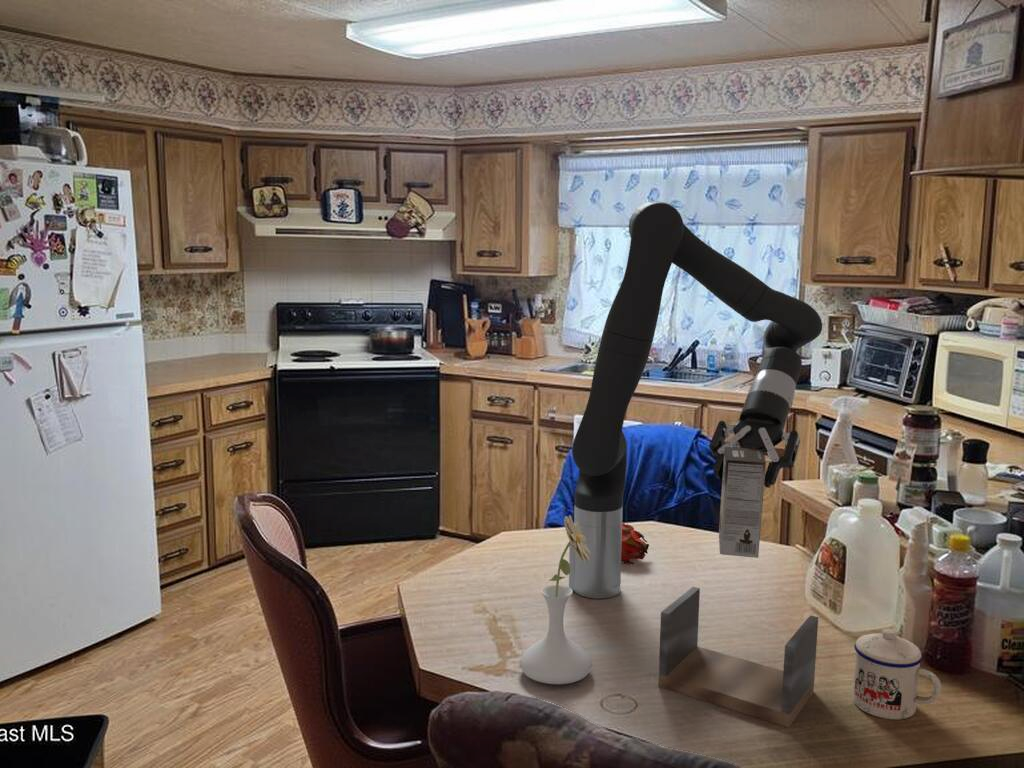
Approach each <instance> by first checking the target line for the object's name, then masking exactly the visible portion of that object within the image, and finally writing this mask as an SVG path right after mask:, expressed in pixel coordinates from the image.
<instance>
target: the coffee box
mask: <svg viewBox="0 0 1024 768" xmlns="http://www.w3.org/2000/svg"><path fill="white" fill-rule="evenodd" d="M766 471H767V460H766V457H765V453H764V452H763V449H755V448H739V447H725V450H724V464H723V477H722V479H721V492H720V494H721V496H720V507H719V510H720V511H719V526H718V528H719V529H718V541H719V542H718V544H719V554H720V555H723V556H733V557H742V558H743V557H745V558H747V557H748V558H753V559H754V558H755V559H757V558H759V554H760V553H759V551H760V540H761V538H760V537H761V526H762V518H763V517H762V514H763V505H764V494H765V493H764V492H765V485H764V482H765V474H766Z"/></svg>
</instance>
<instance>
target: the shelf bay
mask: <svg viewBox="0 0 1024 768" xmlns="http://www.w3.org/2000/svg"><path fill="white" fill-rule="evenodd" d="M700 590H701V588H699V587H696V586H692V587H691V588H689V589H688V590H687V591H686V592H685V593H683V594H682V595H681V596H679V597H678V598H677V599H675V600H674V601H673V602H672V603H670V604H669V605H668V606H666V607H665V608H664V609H663V610H662V611H661V612H660V626H659V627H660V632H659V655H658V656H659V658H658V660H659V663H658V687H661V688H664V689H665V690H670V691H673V692H676V693H679V694H682V695H686V696H689V697H692V698H695V699H698V700H701V701H704V702H708V703H711V704H713V705H716V704H717V706H719V707H720V706H721V707H722V708H727V709H730V710H733V711H736V712H740V713H742V714H746V715H749V716H752V717H754V718H758V719H761V720H764V721H767V722H769V723H773V724H776V725H780V726H783V727H786V728H790V727H791V725H792V724H793V722H794V721H795V720H796V718H797V716H798V715H799V713H800V712H801V711H802V709H803V708H804V706H805V705H806V703H807V702H808V700H809V699H810V698H811V696H812V695H813V693H814V689H815V675H816V674H815V673H816V660H817V659H816V658H817V647H818V646H817V645H818V632H819V631H818V629H819V627H818V626H819V616H814V615H812V614H811V615H810V614H809V616H808V617H807V619H806V620H804V622H803V623H802V625H801V626H800V627H799V628H798V629H797V630H796V632H795V633H794V634H793V635H792V636H791V638H789V640H788V641H787V642H786V643H785V645H784V654H783V655H784V657H783V659H784V660H783V669H782V670H781V669H778V668H775V667H771V666H768V665H764V664H760V663H758V662H754V661H750V660H747V659H744V658H743V659H742V658H739V657H736V656H733V655H730V654H726V653H723V652H718V651H715V650H712V649H708V648H705V647H701V646H698V642H699V641H698V639H699V619H700V618H699V617H700V616H699V615H700V593H701V592H700Z"/></svg>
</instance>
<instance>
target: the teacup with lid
mask: <svg viewBox="0 0 1024 768" xmlns="http://www.w3.org/2000/svg"><path fill="white" fill-rule="evenodd" d="M854 650H855V659H854V670H853V671H854V672H853V673H854V674H853V685H852V700H853V703H854V704H855V705H856V706H857V707H858V708H859V709H860V710H861V711H864V712H865V713H867V714H869V715H871V716H874V717H877V718H881V719H885V720H905V719H908V718H910V717H912V716H914V715H915V713H916V711H917V704H918V703H919V704H922V705H928V704H932V703H933V702H935V701H936V700H937V699H938V697H939V696H940V694H941V690H942V684H941V681H940V679H939V678H938V676H937V675H936V674H935V673H933V672H932V671H930V670H928V669H925V668H920V666H921V662H922V661H923V655H922V651H921V650H920V648H919V647H918V646H917V645H916V644H914V643H913V642H911V641H909V640H907V639H906V638H902V637H901V636H899V635H898V633H897V631H896V630H895V629H891V628H883V629H882V630H881V632H879V633H867V634H863V635H861V636H860V637H858V639H857V640H856V641H855V644H854ZM920 676H922V677H925V678H927V679H928V680H930V682H932V685H933V686H934V690H933V693H932V695H930V696H920V695H918V692H919V691H918V690H919V689H918V688H919V678H920Z"/></svg>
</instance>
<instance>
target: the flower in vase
mask: <svg viewBox="0 0 1024 768" xmlns="http://www.w3.org/2000/svg"><path fill="white" fill-rule="evenodd" d="M563 523H564V528H565V531H566V535H567V538H568V540H569V541H568V542H567V544H566V546H565V548H564V549H563V552H562V554H561V557H560V560H559V563H558V567H557V573H556V574H554V576H552V578H550V579H549V580H548V581H549V582H550V581H551V582H556V584H549V585H545V586H543V587H542V588H540V593H541V595H542V596H543V598H544V599H545V602H546V604H547V609H548V622H549V623H548V631H547V633H546V635H545V636H544V637H543V638H542V639H540V640H538V641H537V642H535V643H534V644H532V645H531V646H530V647H528V648H527V649H526V650H525V651H524V652H523V653H522V655H521V657H520V659H519V668H520V669H521V670H522V672H523V674H524V675H525V676H527V678H529V679H532V680H533V681H535V682H539V683H542V684H547V685H548V684H549V685H567V684H572V683H575V682H578V681H580V680H581V681H582V679H585V678H586V677H587V675H589V674H590V672H591V671H592V667H593V663H592V661H591V658H590V655H589V654H588V653H587V652H586V651H585V650H584V649H583V648H582V647H581V646H579V645H578V644H577V643H575V642H573V641H572V640H571V639H570V638H568V637H567V636H566V634H565V630H564V615H565V610H566V606H567V604H568V603H567V602H568V600H569V599H570V597H571V596H572V595H573V592H574V590H572V589H571V588H569V586H567V585H565V584H559V583H560V581H561V580H562V579H565V578H566V576H569V573H570V566H569V560H567V559H564V557H565V556H566V553H567V551H568V550H569V547H570V544H572V547H573V550H574V551H575V553H576V554H577V556H578V557H579V558H580V560H581V561H582V562H583V561H584V562H585V563H586V562H587V560H588V561H590V559H589V557H588V555H587V554H586V553H588V554H591V553H590V550H589V549H588V547H587V545H586V544H585V542H586V541H587V540H586V537H585V536H584V535H582V533H581V531H580V530H579V525H578V523H577V522H576V524H574V519H573V518H572V516H571V514H570V515H568V516H566V515H565V516H564V521H563ZM561 572H562V573H563V574H564V575H566V576H561V575H560V573H561Z"/></svg>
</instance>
